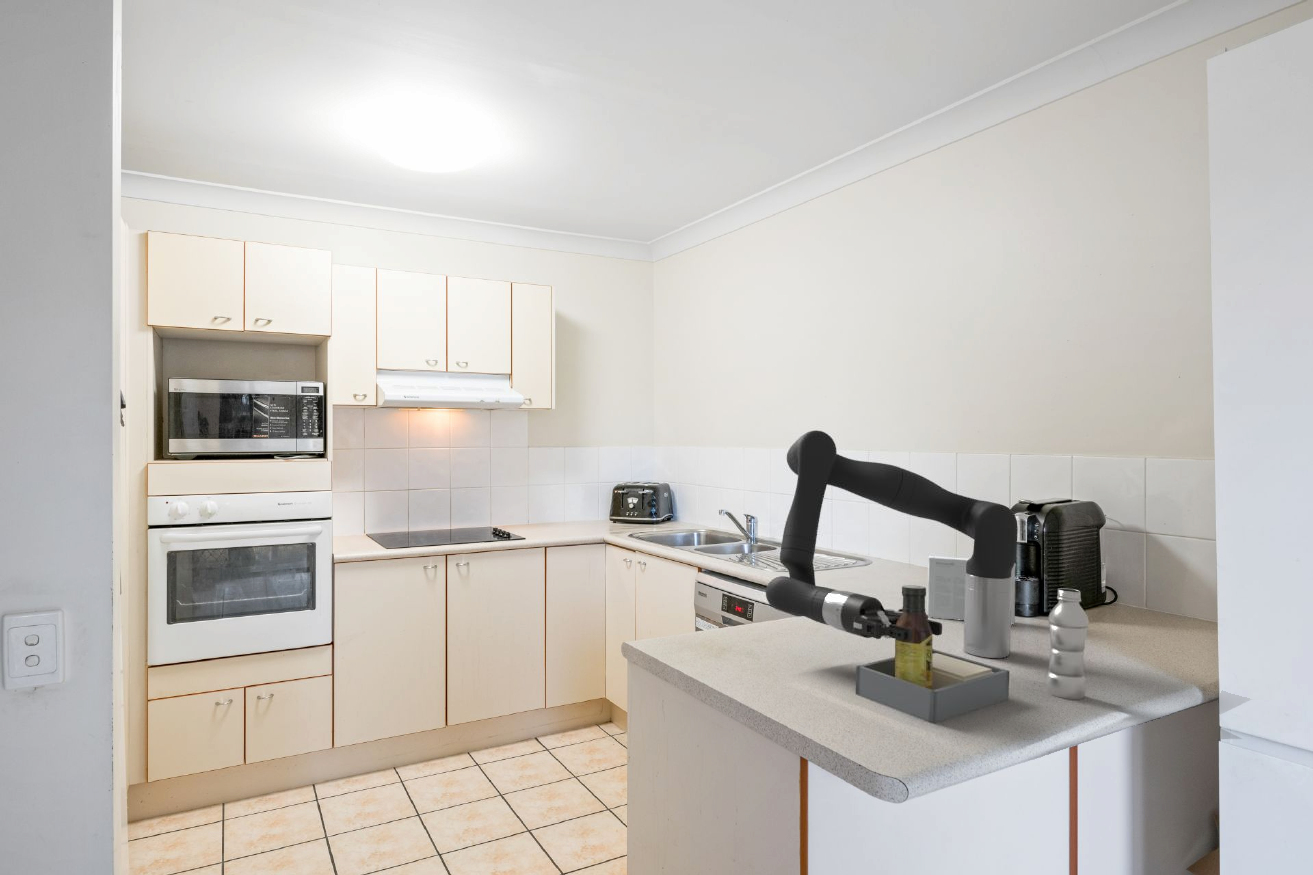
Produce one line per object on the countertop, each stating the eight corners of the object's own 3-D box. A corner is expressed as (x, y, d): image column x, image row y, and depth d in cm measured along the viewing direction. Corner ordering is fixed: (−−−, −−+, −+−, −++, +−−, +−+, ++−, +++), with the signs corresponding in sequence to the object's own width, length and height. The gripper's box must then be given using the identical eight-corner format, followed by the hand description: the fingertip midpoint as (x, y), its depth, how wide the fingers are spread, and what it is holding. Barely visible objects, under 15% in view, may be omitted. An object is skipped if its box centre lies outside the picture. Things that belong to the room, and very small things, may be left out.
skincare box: (1012, 621, 199) (1014, 560, 199) (1015, 626, 194) (1017, 563, 194) (926, 613, 206) (928, 554, 206) (926, 617, 201) (928, 557, 201)
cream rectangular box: (935, 678, 148) (935, 652, 147) (993, 696, 138) (994, 669, 138) (905, 686, 142) (906, 659, 142) (963, 706, 132) (964, 677, 132)
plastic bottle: (1037, 693, 143) (1041, 586, 143) (1071, 692, 144) (1075, 586, 144) (1058, 705, 137) (1062, 593, 137) (1094, 705, 138) (1098, 594, 137)
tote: (930, 679, 150) (931, 648, 150) (1008, 704, 137) (1009, 670, 137) (855, 699, 137) (856, 665, 137) (933, 729, 124) (934, 692, 124)
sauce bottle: (934, 708, 130) (936, 590, 131) (896, 704, 132) (898, 588, 132) (928, 696, 137) (930, 584, 137) (892, 693, 138) (894, 582, 139)
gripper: (827, 597, 142) (900, 615, 128) (877, 589, 150) (951, 606, 137) (826, 637, 142) (899, 660, 128) (876, 627, 150) (950, 648, 137)
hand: (926, 632), depth 133 cm, fingers open, 8 cm apart
